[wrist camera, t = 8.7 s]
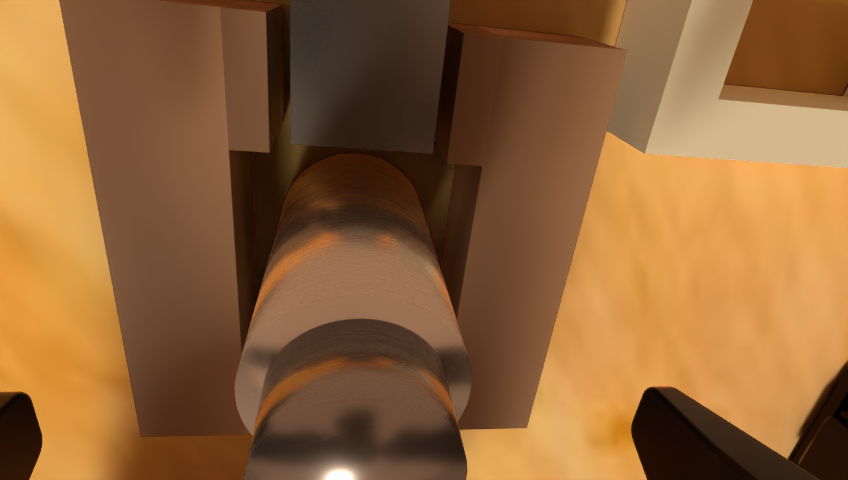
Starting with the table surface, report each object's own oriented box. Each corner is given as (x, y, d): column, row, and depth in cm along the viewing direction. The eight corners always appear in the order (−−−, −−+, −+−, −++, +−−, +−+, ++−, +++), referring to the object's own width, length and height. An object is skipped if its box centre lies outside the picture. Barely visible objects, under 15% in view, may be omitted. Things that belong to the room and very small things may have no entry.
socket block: (577, 36, 12) (628, 50, 10) (503, 367, 17) (526, 428, 14) (118, -14, 11) (56, -11, 8) (171, 368, 15) (141, 437, 13)
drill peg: (428, 157, 13) (521, 372, 6) (414, 279, 15) (475, 561, 8) (282, 148, 13) (196, 374, 5) (283, 275, 14) (219, 578, 7)
